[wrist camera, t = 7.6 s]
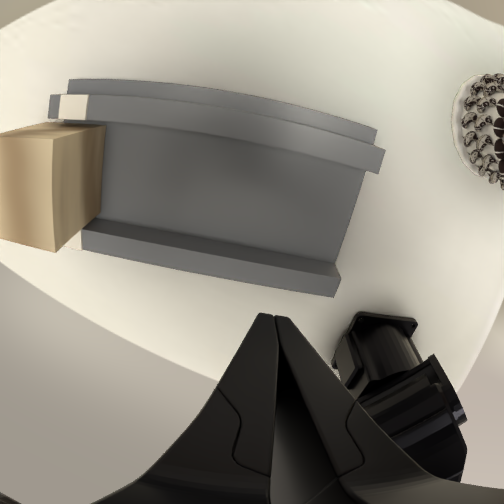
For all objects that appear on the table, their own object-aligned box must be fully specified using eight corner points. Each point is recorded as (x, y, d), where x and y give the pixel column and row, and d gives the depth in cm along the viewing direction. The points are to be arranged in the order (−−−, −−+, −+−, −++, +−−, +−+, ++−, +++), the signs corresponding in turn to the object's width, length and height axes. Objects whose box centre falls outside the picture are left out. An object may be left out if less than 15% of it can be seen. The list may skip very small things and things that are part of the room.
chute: (371, 128, 18) (391, 133, 15) (321, 285, 23) (329, 311, 20) (76, 79, 16) (50, 79, 13) (68, 236, 22) (48, 255, 19)
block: (106, 125, 17) (53, 139, 11) (100, 212, 20) (55, 252, 14) (46, 122, 16) (-12, 137, 11) (44, 202, 19) (-6, 237, 14)
